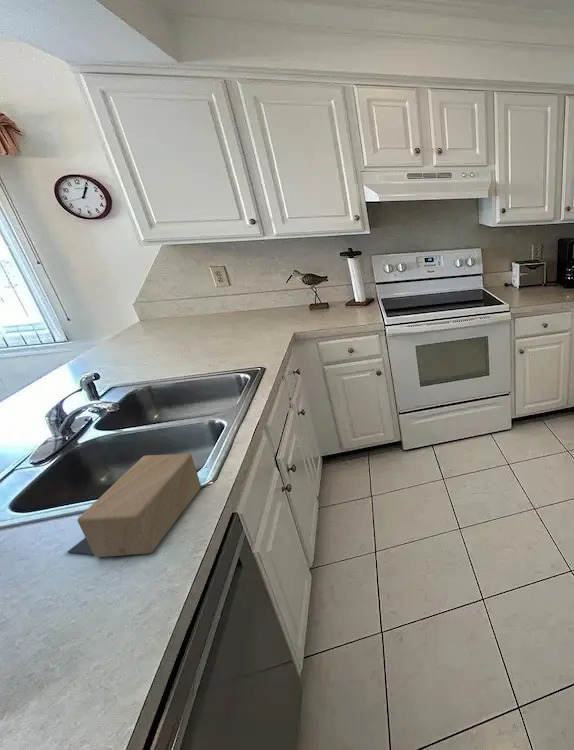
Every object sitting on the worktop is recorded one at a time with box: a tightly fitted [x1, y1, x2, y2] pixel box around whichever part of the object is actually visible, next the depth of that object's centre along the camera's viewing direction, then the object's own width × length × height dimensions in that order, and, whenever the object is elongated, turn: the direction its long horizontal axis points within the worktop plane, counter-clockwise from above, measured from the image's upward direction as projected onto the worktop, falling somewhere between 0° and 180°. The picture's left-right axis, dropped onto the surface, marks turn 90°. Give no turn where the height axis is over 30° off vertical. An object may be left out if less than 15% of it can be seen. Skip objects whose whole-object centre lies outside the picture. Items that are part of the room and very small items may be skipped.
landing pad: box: [67, 537, 109, 558], centre depth 85 cm, size 9×8×1 cm
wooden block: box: [77, 453, 202, 558], centre depth 87 cm, size 10×10×20 cm
